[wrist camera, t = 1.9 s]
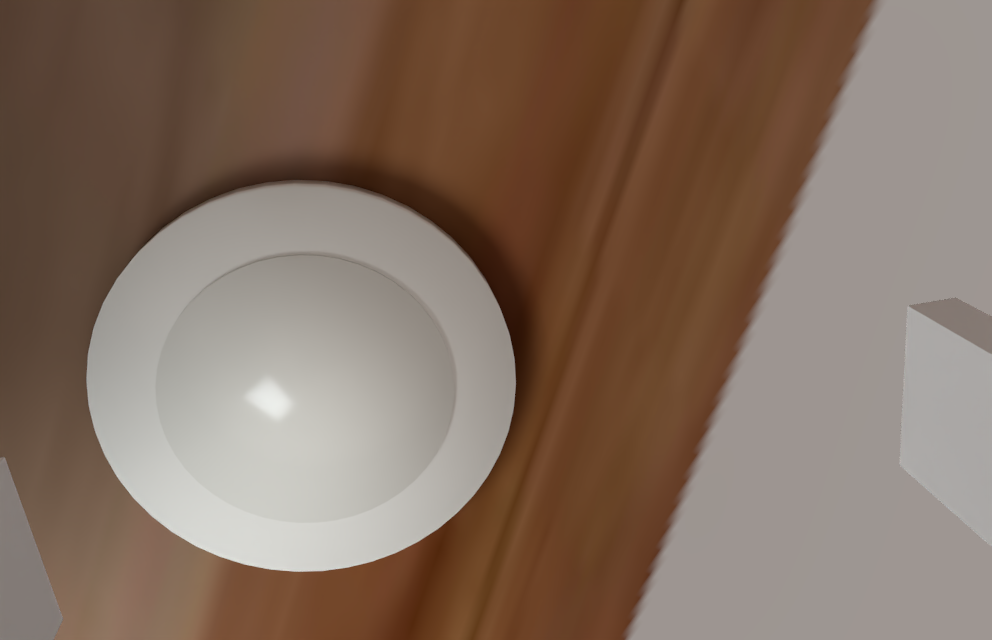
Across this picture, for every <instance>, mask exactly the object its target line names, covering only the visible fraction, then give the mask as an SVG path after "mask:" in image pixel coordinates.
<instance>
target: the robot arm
mask: <svg viewBox="0 0 992 640" xmlns="http://www.w3.org/2000/svg"><path fill="white" fill-rule="evenodd" d="M900 466H901V467H902V468H903V469H904V470H906V471H907V472H908V473H909V474H910V475H911V476H912V477H913V478H914V479H916V480H917V481H918V482H919V483H920V484H921V485H923V486H924V487H925V488H926V489H927V490H928V491H929V492H930V493H931V494H933V495H934V496H935V497H936V498H937V499H938V500H939V501H940V502H942V503H943V504H944V505H945V506H946V507H947V508H948V509H949V510H951V511H952V512H953V513H954V514H955V515H957V517H959V518H960V519H961V520H962V521H963V522H964V523H965V524H966V525H968V526H969V527H970V528H971V529H972V530H973V531H974V532H976V533H977V534H978V535H979V536H980V537H981V538H982V539H983V540H985V541H986V542H987V543H988V544H989V545H990V546H991V547H992V316H990V315H988V314H986V313H984V312H982V311H980V310H978V309H976V308H974V307H972V306H970V305H969V304H967V303H965V302H963V301H961V300H959V299H957V298H951V299H945V300H939V301H933V302H928V303H921V304H916V305H909V306H908V309H907V327H906V347H905V367H904V388H903V406H902V426H901V446H900ZM62 620H63V617H62V615H61V612H60V609H59V606H58V603H57V601H56V598H55V595H54V592H53V590H52V587H51V584H50V581H49V579H48V576H47V573H46V570H45V567H44V565H43V562H42V559H41V556H40V554H39V551H38V548H37V545H36V543H35V540H34V537H33V534H32V531H31V529H30V526H29V523H28V520H27V518H26V515H25V512H24V509H23V506H22V504H21V501H20V498H19V495H18V493H17V490H16V487H15V484H14V482H13V479H12V476H11V473H10V470H9V468H8V465H7V462H6V459H5V457H1V458H0V640H53V639H54V637H55V635H56V633H57V631H58V629H59V627H60V625H61V623H62Z"/></svg>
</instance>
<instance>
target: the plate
mask: <svg viewBox="0 0 992 640" xmlns="http://www.w3.org/2000/svg"><path fill="white" fill-rule="evenodd" d="M86 381H87V393H88V404H89V409H90V413H91V417H92V421H93V426H94V430H95V433H96V435H97V438H98V440H99V443H100V445H101V448H102V450H103V452H104V455H105V457H106V458H107V460H108V462H109V464H110V465H111V467H112V469H113V471H114V472H115V474H116V476H117V477H118V479H119V480H120V481H121V483H122V484H123V485H124V486H125V488H126V489H127V490H128V492H129V493H130V494H131V496H132V497H133V498H134V499H135V500H136V501H137V502H138V503H139V504H140V505H141V506H142V507H143V508H144V509H145V510H146V511H147V512H148V513H149V514H150V515H151V516H152V517H153V518H155V519H156V520H157V521H159V522H160V523H161V524H163V525H164V526H165V527H166V528H168V529H169V530H170V531H172V532H173V533H175V534H176V535H178V536H180V537H181V538H183V539H185V540H186V541H188V542H190V543H191V544H193V545H195V546H197V547H199V548H201V549H204V550H206V551H208V552H210V553H213V554H215V555H217V556H220V557H223V558H226V559H229V560H232V561H235V562H239V563H242V564H245V565H250V566H256V567H261V568H266V569H272V570H284V571H295V572H298V571H325V570H333V569H340V568H348V567H352V566H356V565H360V564H364V563H368V562H372V561H375V560H377V559H380V558H383V557H386V556H388V555H391V554H394V553H396V552H398V551H400V550H402V549H404V548H406V547H408V546H410V545H412V544H414V543H416V542H418V541H420V540H421V539H423V538H424V537H426V536H428V535H429V534H431V533H432V532H434V531H435V530H437V529H438V528H440V527H441V526H442V525H443V524H444V523H446V522H447V521H448V520H449V519H450V518H452V517H453V516H454V515H455V514H456V513H458V512H459V510H460V509H461V508H462V507H463V506H464V505H465V504H466V503H467V502H468V501H469V500H470V499H471V498H472V497H473V495H474V494H475V493H476V492H477V490H478V489H479V487H480V486H481V485H482V483H483V482H484V481H485V479H486V478H487V476H488V475H489V473H490V471H491V470H492V468H493V466H494V464H495V462H496V460H497V458H498V457H499V455H500V453H501V450H502V447H503V445H504V442H505V439H506V437H507V434H508V431H509V427H510V423H511V418H512V414H513V410H514V401H515V389H516V375H515V359H514V354H513V349H512V344H511V339H510V334H509V331H508V329H507V326H506V323H505V320H504V317H503V314H502V312H501V309H500V307H499V305H498V302H497V300H496V298H495V296H494V294H493V292H492V290H491V288H490V286H489V285H488V283H487V281H486V279H485V277H484V276H483V274H482V273H481V271H480V270H479V269H478V267H477V266H476V264H475V263H474V262H473V260H472V259H471V257H470V256H469V255H468V254H467V253H466V252H465V251H464V250H463V249H462V248H461V247H460V245H459V244H458V243H457V242H456V241H455V240H454V239H453V238H452V237H451V236H450V235H448V234H447V233H446V232H445V231H443V230H442V229H441V228H440V227H439V226H437V225H436V224H435V223H434V222H432V221H431V220H430V219H428V218H426V217H425V216H423V215H421V214H420V213H418V212H417V211H415V210H413V209H412V208H410V207H409V206H407V205H405V204H402V203H400V202H398V201H396V200H393V199H391V198H389V197H387V196H385V195H382V194H379V193H376V192H373V191H370V190H366V189H363V188H360V187H356V186H352V185H347V184H341V183H335V182H329V181H316V180H287V181H275V182H266V183H261V184H256V185H252V186H247V187H243V188H238V189H235V190H233V191H230V192H227V193H224V194H221V195H219V196H216V197H213V198H211V199H209V200H207V201H205V202H203V203H201V204H199V205H197V206H195V207H193V208H191V209H189V210H188V211H186V212H184V213H183V214H181V215H180V216H179V217H177V218H176V219H174V220H173V221H172V222H170V223H169V224H167V225H166V226H165V227H163V228H162V229H161V230H160V231H159V232H158V233H157V234H156V235H155V236H154V237H153V238H151V239H150V240H149V241H148V242H147V243H146V244H145V245H144V246H143V247H142V248H141V249H140V251H139V252H138V253H137V254H136V255H135V256H134V258H133V259H132V260H131V261H130V263H129V264H128V265H127V267H126V268H125V269H124V270H123V272H122V273H121V274H120V275H119V277H118V278H117V279H116V281H115V283H114V285H113V286H112V288H111V290H110V292H109V293H108V295H107V297H106V299H105V300H104V302H103V305H102V307H101V310H100V312H99V315H98V318H97V320H96V323H95V325H94V328H93V333H92V338H91V342H90V347H89V351H88V361H87V378H86Z"/></svg>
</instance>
